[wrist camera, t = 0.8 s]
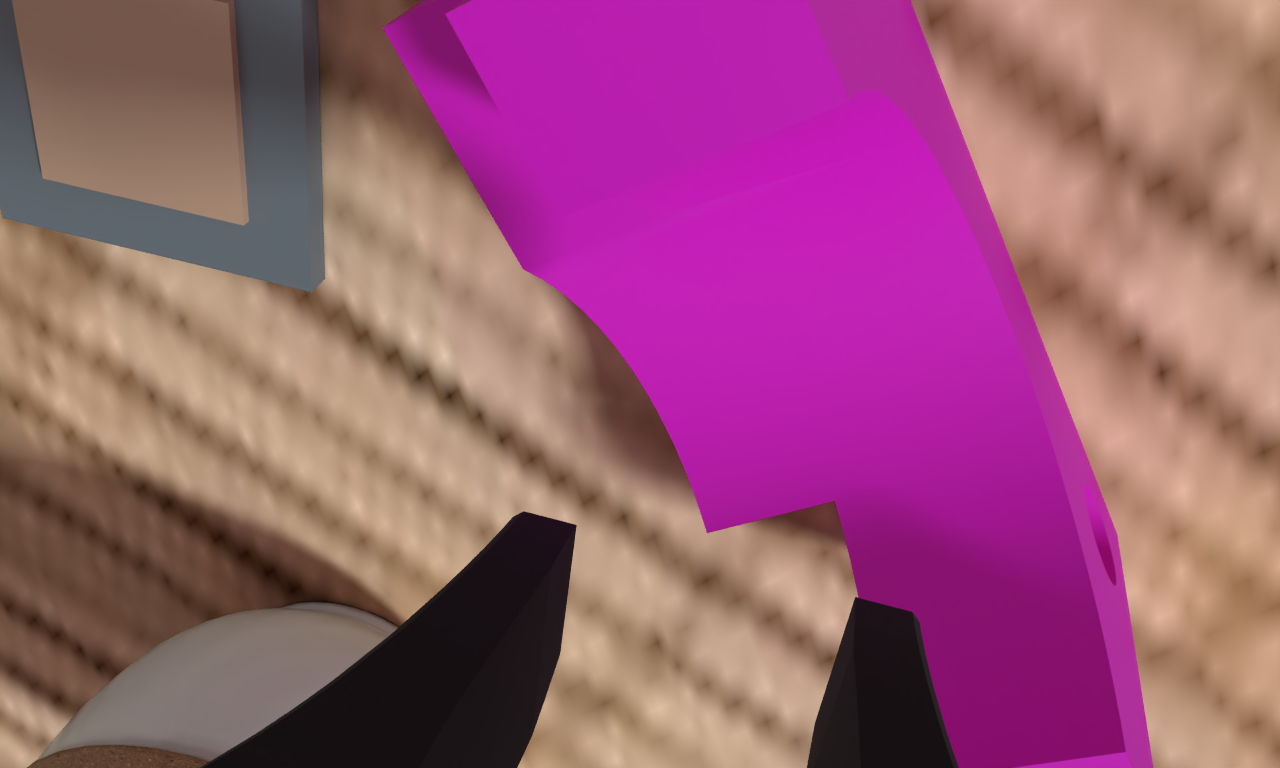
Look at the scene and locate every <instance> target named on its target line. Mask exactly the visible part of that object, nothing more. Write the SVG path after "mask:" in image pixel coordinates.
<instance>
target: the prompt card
mask: <svg viewBox="0 0 1280 768" xmlns="http://www.w3.org/2000/svg"><path fill="white" fill-rule="evenodd" d="M0 205H1V210H2V215H3V218H5V219H9V220H13V221H17V222H21V223H26V224H30V225H34V226H38V227H42V228H46V229H51V230H55V231H59V232H63V233H67V234H71V235H76V236H80V237H84V238H88V239H92V240H96V241H101V242H105V243H109V244H113V245H117V246H121V247H126V248H130V249H134V250H138V251H142V252H146V253H151V254H155V255H159V256H163V257H167V258H171V259H176V260H180V261H184V262H188V263H192V264H196V265H201V266H205V267H209V268H213V269H217V270H221V271H226V272H230V273H234V274H238V275H242V276H246V277H251V278H255V279H259V280H263V281H267V282H272V283H276V284H280V285H284V286H288V287H292V288H297V289H301V290H305V291H309V292H312V291H313V290H314V289H315V288H316V287H317V286H318V285H319V284H320V283H321V282H322V281H323V280H324V279H325V265H324V229H323V194H322V158H321V122H320V86H319V51H318V15H317V0H0Z"/></svg>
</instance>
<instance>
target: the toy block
mask: <svg viewBox="0 0 1280 768" xmlns="http://www.w3.org/2000/svg"><path fill="white" fill-rule="evenodd" d="M383 29H384V31H385V33H386V35H387V36H388V38H389V40H390V41H391V43H392V45H393V47H394V48H395V50H396V52H397V53H398V55H399V57H400V59H401V60H402V62H403V64H404V66H405V67H406V69H407V71H408V72H409V74H410V76H411V78H412V79H413V81H414V83H415V84H416V86H417V88H418V90H419V91H420V93H421V95H422V96H423V98H424V100H425V102H426V103H427V105H428V107H429V108H430V110H431V112H432V114H433V115H434V117H435V119H436V120H437V122H438V124H439V126H440V127H441V129H442V131H443V132H444V134H445V136H446V138H447V139H448V141H449V143H450V145H451V146H452V148H453V150H454V151H455V153H456V155H457V157H458V158H459V160H460V162H461V163H462V165H463V167H464V169H465V170H466V172H467V174H468V175H469V177H470V179H471V181H472V182H473V184H474V186H475V187H476V189H477V191H478V193H479V194H480V196H481V198H482V199H483V201H484V203H485V205H486V206H487V208H488V210H489V211H490V213H491V215H492V217H493V218H494V220H495V222H496V224H497V225H498V227H499V229H500V230H501V232H502V234H503V236H504V237H505V239H506V241H507V242H508V244H509V246H510V248H511V249H512V251H513V253H514V254H515V256H516V258H517V260H518V261H519V263H520V265H521V266H522V268H523V269H524V270H526V271H527V272H529V273H531V274H533V275H535V276H537V277H539V278H541V279H543V280H544V281H546V282H547V283H548V284H550V285H551V286H553V287H554V288H556V289H557V290H559V291H560V292H562V293H563V294H564V295H565V296H566V297H568V298H569V299H570V300H571V301H572V302H573V303H575V304H576V305H577V306H578V307H579V308H580V309H582V310H583V311H584V312H585V314H586V315H587V316H588V317H589V318H590V319H591V320H592V321H593V322H594V323H595V324H596V325H597V326H598V327H599V328H600V329H601V330H602V331H603V333H604V334H605V335H606V336H607V337H608V339H609V340H610V341H611V342H612V343H613V345H614V346H615V347H616V348H617V350H618V351H619V352H620V354H621V355H622V356H623V358H624V359H625V361H626V362H627V363H628V365H629V366H630V367H631V369H632V370H633V372H634V373H635V375H636V377H637V378H638V380H639V381H640V383H641V384H642V386H643V388H644V389H645V391H646V392H647V394H648V396H649V398H650V399H651V401H652V403H653V405H654V406H655V408H656V410H657V412H658V414H659V415H660V417H661V419H662V421H663V423H664V425H665V427H666V429H667V431H668V433H669V435H670V437H671V439H672V441H673V443H674V446H675V448H676V450H677V453H678V455H679V457H680V460H681V462H682V464H683V466H684V469H685V471H686V474H687V476H688V479H689V482H690V484H691V487H692V490H693V492H694V495H695V498H696V500H697V503H698V506H699V509H700V513H701V516H702V519H703V522H704V525H705V528H706V531H707V533H709V532H713V531H717V530H721V529H725V528H729V527H733V526H737V525H741V524H745V523H749V522H753V521H757V520H761V519H765V518H769V517H773V516H777V515H781V514H785V513H789V512H793V511H797V510H801V509H805V508H809V507H813V506H817V505H821V504H825V503H829V502H833V501H835V504H836V508H837V511H838V515H839V518H840V522H841V525H842V529H843V533H844V537H845V540H846V544H847V548H848V552H849V556H850V560H851V565H852V569H853V574H854V578H855V583H856V588H857V592H858V598H861V599H865V600H869V601H873V602H877V603H881V604H884V605H888V606H892V607H896V608H900V609H904V610H908V611H912V612H913V613H914V615H915V616H916V618H917V619H918V621H919V622H920V627H921V633H922V639H923V644H924V648H925V653H926V658H927V662H928V666H929V671H930V674H931V678H932V682H933V686H934V690H935V693H936V697H937V700H938V704H939V707H940V711H941V714H942V718H943V721H944V725H945V728H946V731H947V734H948V737H949V741H950V744H951V747H952V750H953V752H954V755H955V758H956V761H957V764H958V767H959V768H1153V763H1152V756H1151V750H1150V743H1149V737H1148V730H1147V724H1146V717H1145V711H1144V705H1143V698H1142V692H1141V685H1140V679H1139V672H1138V666H1137V659H1136V653H1135V646H1134V640H1133V634H1132V627H1131V621H1130V614H1129V608H1128V601H1127V595H1126V588H1125V582H1124V575H1123V569H1122V563H1121V556H1120V550H1119V543H1118V537H1117V533H1116V530H1115V528H1114V525H1113V522H1112V520H1111V517H1110V515H1109V512H1108V509H1107V507H1106V504H1105V502H1104V499H1103V497H1102V494H1101V491H1100V489H1099V486H1098V484H1097V481H1096V478H1095V476H1094V473H1093V471H1092V468H1091V466H1090V463H1089V460H1088V458H1087V455H1086V453H1085V450H1084V448H1083V445H1082V442H1081V440H1080V437H1079V435H1078V432H1077V429H1076V427H1075V424H1074V422H1073V419H1072V417H1071V414H1070V411H1069V409H1068V406H1067V404H1066V401H1065V398H1064V396H1063V393H1062V391H1061V388H1060V386H1059V383H1058V380H1057V378H1056V375H1055V373H1054V370H1053V367H1052V365H1051V362H1050V360H1049V357H1048V355H1047V352H1046V349H1045V347H1044V344H1043V342H1042V339H1041V336H1040V334H1039V331H1038V329H1037V326H1036V324H1035V321H1034V318H1033V316H1032V313H1031V311H1030V308H1029V305H1028V303H1027V300H1026V298H1025V295H1024V293H1023V290H1022V287H1021V285H1020V282H1019V280H1018V277H1017V274H1016V272H1015V269H1014V267H1013V264H1012V262H1011V259H1010V256H1009V254H1008V251H1007V249H1006V246H1005V243H1004V241H1003V238H1002V236H1001V233H1000V231H999V228H998V225H997V223H996V220H995V218H994V215H993V212H992V210H991V207H990V205H989V202H988V200H987V197H986V194H985V192H984V189H983V187H982V184H981V181H980V179H979V176H978V174H977V171H976V169H975V166H974V163H973V161H972V158H971V156H970V153H969V150H968V148H967V145H966V143H965V140H964V138H963V135H962V132H961V130H960V127H959V125H958V122H957V119H956V117H955V114H954V112H953V109H952V107H951V104H950V101H949V99H948V96H947V94H946V91H945V88H944V86H943V83H942V81H941V78H940V76H939V73H938V70H937V68H936V65H935V63H934V60H933V58H932V55H931V52H930V50H929V47H928V45H927V42H926V39H925V37H924V34H923V32H922V29H921V27H920V24H919V21H918V19H917V16H916V14H915V11H914V8H913V6H912V3H911V1H910V0H422V1H421V2H419V3H418V4H416V5H415V6H413V7H412V8H410V9H409V10H408V11H406V12H405V13H403V14H402V15H400V16H399V17H398V18H396V19H395V20H393V21H392V22H390V23H389V24H388V25H386V26H385V27H383Z"/></svg>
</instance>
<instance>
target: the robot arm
mask: <svg viewBox="0 0 1280 768" xmlns="http://www.w3.org/2000/svg"><path fill="white" fill-rule="evenodd" d="M575 533H576V525H574V524H571V523H567V522H563V521H559V520H555V519H551V518H547V517H543V516H540V515H536V514H532V513H528V512H522V513H520V514H518V515H516V516H514V517H513V518H512V519H511V520H510V521H509V522H508V523H507V524H506V525H505V527H504V528H503V529H502V530H501V531H500V532H499V533H498V534H497V535H496V536H495V537H494V538H493V539H492V540H491V541H490V543H489V544H488V545H487V546H486V547H485V548H484V549H483V550H482V551H481V552H480V553H479V554H478V555H477V556H476V557H475V558H474V559H473V560H472V561H471V562H470V563H469V564H468V565H467V566H466V567H465V568H464V569H463V570H462V571H460V572H459V573H458V574H457V575H456V576H455V577H454V578H453V579H452V580H451V581H450V582H449V583H448V584H447V585H446V586H445V587H444V588H443V589H441V590H440V591H439V592H438V593H437V594H436V595H435V596H434V597H433V598H431V599H430V600H429V601H428V602H427V603H426V604H425V605H424V606H422V607H421V608H420V609H419V610H418V611H417V612H416V613H415V614H413V615H412V616H411V617H410V618H409V619H408V620H407V621H406V622H404V623H403V624H402V625H401V626H400V627H399V628H398V629H396V630H395V631H394V632H393V633H392V634H390V635H389V636H388V637H387V638H386V639H384V640H383V641H382V642H381V643H379V644H378V645H377V646H375V647H374V648H373V649H372V650H370V651H369V652H368V653H367V654H365V655H364V656H363V657H362V658H360V659H359V660H358V661H357V662H355V663H354V664H353V665H352V666H350V667H349V668H348V669H346V670H345V671H344V672H343V673H341V674H340V675H339V676H338V677H336V678H335V679H334V680H332V681H331V682H330V683H328V684H327V685H326V686H324V687H323V688H321V689H320V690H319V691H317V692H316V693H315V694H313V695H312V696H310V697H309V698H308V699H306V700H305V701H303V702H302V703H301V704H299V705H298V706H296V707H295V708H293V709H292V710H290V711H289V712H287V713H286V714H284V715H283V716H281V717H280V718H278V719H277V720H275V721H274V722H272V723H271V724H269V725H268V726H266V727H265V728H264V729H262V730H260V731H259V732H257V733H256V734H254V735H253V736H251V737H249V738H248V739H246V740H245V741H243V742H241V743H240V744H238V745H236V746H235V747H233V748H231V749H230V750H228V751H226V752H225V753H223V754H221V755H220V756H218V757H216V758H215V759H213V760H212V761H210V762H208V763H207V764H205V765H203V766H202V767H200V768H517V767H518V765H519V763H520V761H521V758H522V756H523V754H524V752H525V750H526V748H527V746H528V743H529V741H530V739H531V737H532V734H533V732H534V729H535V726H536V723H537V720H538V717H539V714H540V712H541V709H542V706H543V703H544V700H545V697H546V694H547V691H548V688H549V685H550V682H551V679H552V676H553V673H554V671H555V668H556V665H557V662H558V659H559V656H560V650H561V643H562V635H563V627H564V619H565V611H566V603H567V596H568V588H569V580H570V572H571V564H572V556H573V549H574V541H575ZM807 768H959V767H958V764H957V761H956V758H955V755H954V752H953V750H952V747H951V744H950V741H949V737H948V734H947V731H946V728H945V725H944V721H943V718H942V714H941V711H940V707H939V704H938V700H937V697H936V693H935V690H934V686H933V682H932V678H931V674H930V671H929V666H928V662H927V658H926V653H925V648H924V644H923V639H922V633H921V627H920V622H919V621H918V619H917V618H916V616H915V615H914V613H913V612H912V611H908V610H904V609H900V608H896V607H892V606H888V605H884V604H881V603H877V602H873V601H869V600H865V599H861V598H857V597H855V600H854V603H853V606H852V609H851V612H850V616H849V619H848V622H847V625H846V628H845V631H844V634H843V637H842V641H841V644H840V647H839V650H838V653H837V656H836V659H835V662H834V666H833V669H832V672H831V675H830V678H829V681H828V684H827V687H826V691H825V694H824V697H823V700H822V703H821V706H820V709H819V712H818V716H817V719H816V722H815V726H814V732H813V737H812V743H811V748H810V754H809V759H808V765H807Z"/></svg>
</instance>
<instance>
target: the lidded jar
mask: <svg viewBox="0 0 1280 768" xmlns="http://www.w3.org/2000/svg"><path fill="white" fill-rule="evenodd" d="M398 628H399V627H398V626H396V625H394V624H392V623H390V622H389V621H387V620H385V619H383V618H381V617H379V616H376V615H374V614H371V613H369V612H367V611H364V610H360V609H357V608H354V607H351V606H347V605H341V604H336V603H330V602H302V603H295V604H291V605H287V606H284V607H281V608H271V609H259V610H249V611H241V612H237V613H233V614H229V615H225V616H222V617H218V618H215V619H212V620H209V621H205V622H202V623H200V624H198V625H195V626H193V627H191V628H189V629H187V630H185V631H183V632H181V633H179V634H177V635H175V636H173V637H171V638H169V639H167V640H165V641H164V642H162V643H160V644H158V645H156V646H155V647H154V648H152V649H151V650H150V651H148V652H147V653H146V654H144V655H143V656H142V657H140V658H139V659H138V660H136V661H135V662H134V663H132V664H131V665H130V666H128V667H127V668H126V669H125V670H123V671H122V672H121V673H120V674H118V675H117V676H116V677H115V678H113V679H112V680H111V681H110V682H109V683H108V684H107V685H106V686H104V687H103V688H102V689H101V690H100V691H99V692H98V693H97V694H96V695H95V696H94V697H93V698H92V699H90V700H89V701H88V702H87V703H86V704H85V705H84V706H83V707H82V708H81V709H80V710H79V711H78V712H77V714H76V715H75V716H74V717H73V718H72V719H71V720H70V721H69V722H68V724H67V725H66V726H65V727H64V728H63V729H62V730H61V731H60V732H59V734H58V735H57V736H56V737H55V738H54V739H53V741H52V742H51V743H50V744H49V746H48V747H47V748H46V749H45V750H44V752H43V753H42V754H41V755H40V757H39V758H38V759H37V760H36V761H35V762H34V763H32V764H31V765H30V766H28V767H27V768H200V767H202V766H203V765H205V764H207V763H208V762H210V761H212V760H213V759H215V758H216V757H218V756H220V755H221V754H223V753H225V752H226V751H228V750H230V749H231V748H233V747H235V746H236V745H238V744H240V743H241V742H243V741H245V740H246V739H248V738H249V737H251V736H253V735H254V734H256V733H257V732H259V731H260V730H262V729H264V728H265V727H266V726H268V725H269V724H271V723H272V722H274V721H275V720H277V719H278V718H280V717H281V716H283V715H284V714H286V713H287V712H289V711H290V710H292V709H293V708H295V707H296V706H298V705H299V704H301V703H302V702H303V701H305V700H306V699H308V698H309V697H310V696H312V695H313V694H315V693H316V692H317V691H319V690H320V689H321V688H323V687H324V686H326V685H327V684H328V683H330V682H331V681H332V680H334V679H335V678H336V677H338V676H339V675H340V674H341V673H343V672H344V671H345V670H346V669H348V668H349V667H350V666H352V665H353V664H354V663H355V662H357V661H358V660H359V659H360V658H362V657H363V656H364V655H365V654H367V653H368V652H369V651H370V650H372V649H373V648H374V647H375V646H377V645H378V644H379V643H381V642H382V641H383V640H384V639H386V638H387V637H388V636H389V635H390V634H392V633H393V632H394V631H395V630H396V629H398Z"/></svg>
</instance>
